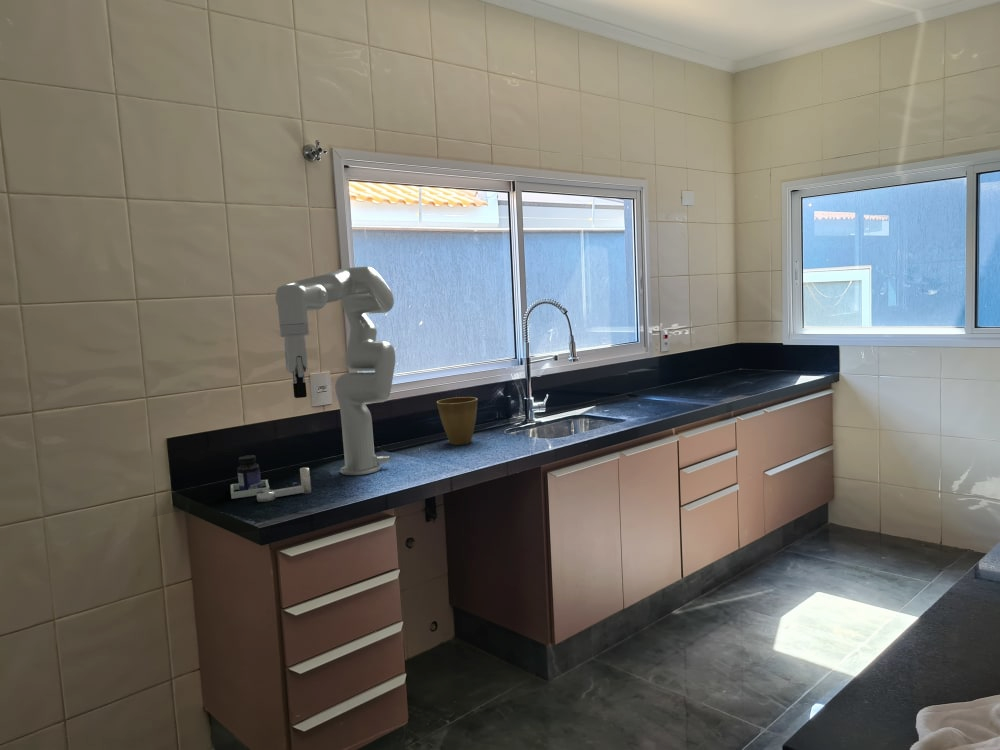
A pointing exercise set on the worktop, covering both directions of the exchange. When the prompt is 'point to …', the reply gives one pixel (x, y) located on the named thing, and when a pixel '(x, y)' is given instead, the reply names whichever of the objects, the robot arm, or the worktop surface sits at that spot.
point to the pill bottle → (248, 473)
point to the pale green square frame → (247, 492)
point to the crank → (304, 488)
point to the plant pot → (458, 418)
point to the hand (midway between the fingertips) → (300, 397)
